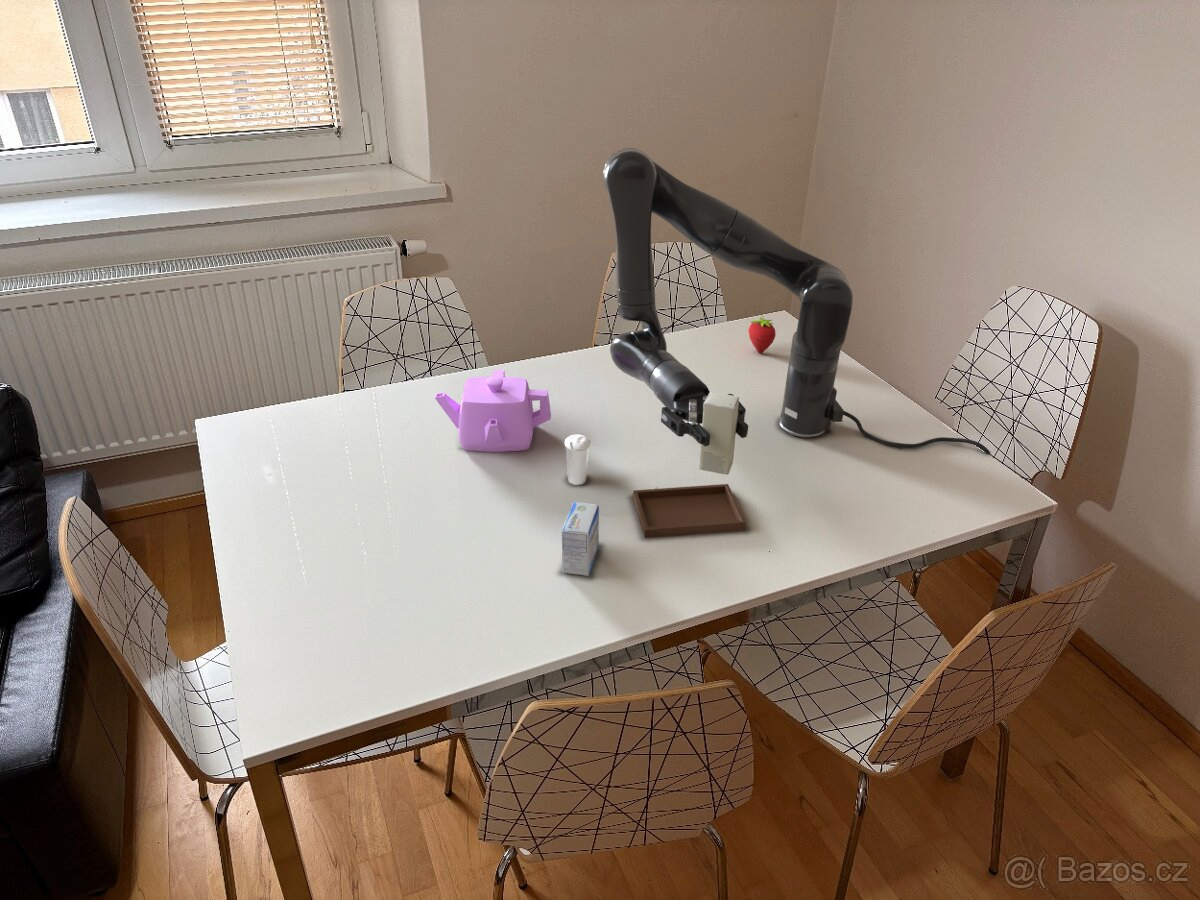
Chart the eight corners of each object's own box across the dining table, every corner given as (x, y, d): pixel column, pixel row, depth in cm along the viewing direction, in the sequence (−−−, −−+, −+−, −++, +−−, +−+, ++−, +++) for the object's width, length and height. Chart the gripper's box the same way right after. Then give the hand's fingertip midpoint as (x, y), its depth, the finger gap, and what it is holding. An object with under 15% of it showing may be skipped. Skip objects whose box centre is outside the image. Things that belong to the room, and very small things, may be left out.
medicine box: (588, 577, 138) (589, 534, 133) (561, 573, 139) (561, 530, 134) (599, 546, 144) (600, 504, 140) (572, 542, 145) (572, 500, 140)
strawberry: (754, 361, 202) (759, 322, 196) (741, 347, 208) (745, 308, 202) (777, 359, 203) (783, 319, 198) (764, 345, 209) (769, 306, 204)
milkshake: (558, 486, 159) (558, 439, 153) (570, 470, 163) (570, 424, 157) (581, 492, 157) (582, 445, 152) (593, 476, 161) (594, 430, 156)
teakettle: (558, 435, 173) (557, 379, 167) (493, 469, 163) (490, 412, 156) (500, 405, 183) (497, 351, 176) (435, 436, 172) (430, 380, 166)
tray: (727, 491, 158) (728, 483, 157) (744, 530, 149) (746, 522, 148) (632, 498, 156) (632, 490, 155) (644, 537, 147) (644, 529, 146)
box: (733, 462, 147) (742, 396, 140) (727, 476, 144) (736, 409, 137) (702, 456, 149) (709, 390, 142) (696, 470, 145) (703, 402, 138)
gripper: (642, 377, 149) (689, 425, 136) (716, 363, 154) (768, 408, 141) (640, 415, 153) (685, 465, 140) (712, 400, 158) (762, 447, 145)
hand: (726, 437), depth 141 cm, fingers closed on box, 6 cm apart
